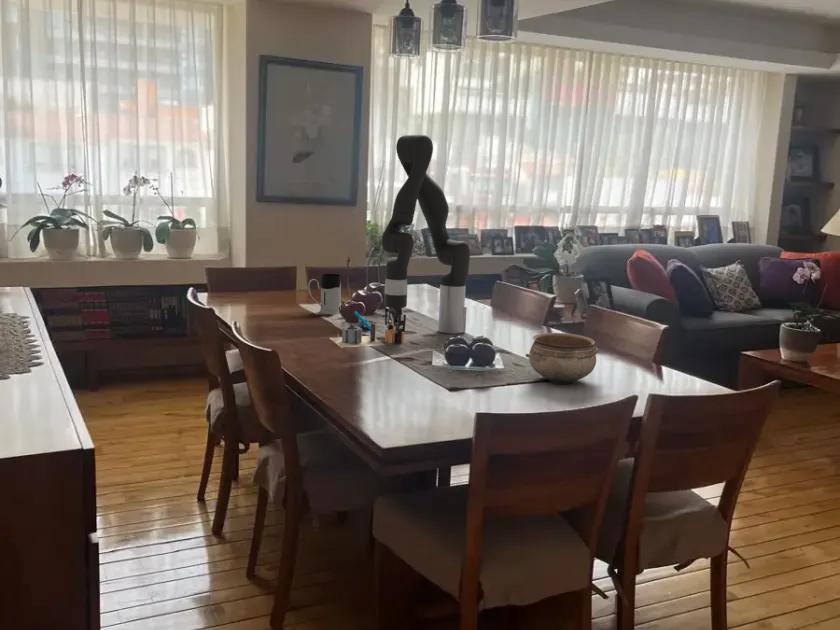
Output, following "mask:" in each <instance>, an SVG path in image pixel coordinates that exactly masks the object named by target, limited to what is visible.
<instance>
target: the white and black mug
mask: <svg viewBox="0 0 840 630" xmlns="http://www.w3.org/2000/svg"><path fill="white" fill-rule="evenodd" d="M313 281H315V282H317V283H316V284H317V288H318V290H320V302H319V301H317V300H316V299H315V298H314V297H313V295H312V292H311V286H310V285H311V282H313ZM341 287H342V283H341V274H339V273H322V274H321V286H320V282H319V281H318V280H317V279H315V278H312V279H310V280H309V282H308V287H307V290H308V293H309V295H310V297H311V298H312V300H314V301H315V302H316V303H317V304H318V305H319V306H320V309H319V313H320V314H323V315H339V314H340V313H339V306H340V307H341V301H342V300H341V298H342V297H341V293H342V290H341Z"/></svg>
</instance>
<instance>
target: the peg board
mask: <svg viewBox="0 0 840 630" xmlns="http://www.w3.org/2000/svg"><path fill="white" fill-rule="evenodd" d="M370 326H371V330H370V329H369V330H370V331H369V332H370V334H369V335H362V342H360V343H358V344H356V343H355V344H349V343H343V342H342V336H340V337H339V336H338V337H329V339H330V340H331V341H332V342H333V343H335V344H336V345H337V346H338V347H339V348H342V349H343V348H356V347H357V348H358V347H360V348H362V347H378V346H379V347H380V346H385V344H384V343H383V342H382V341H380V340H378V339H377V338H376V323H375V322H371V323H370ZM349 327H350V329H353V330H354V329H355V327H356V326H355V324H354V323H350V324H349Z"/></svg>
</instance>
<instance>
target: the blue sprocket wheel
mask: <svg viewBox="0 0 840 630" xmlns="http://www.w3.org/2000/svg"><path fill="white" fill-rule="evenodd" d="M353 313H354V316H356V317H357V318H358V320H359V323H358V325H357V326H356V327H361V328H362V327H364V326H366V328H367V329H368V330H371V324H370V323H368V320H367V319H366V318H364V317H363V316H362V315H361V314H360V313H359V312H357V310H354V312H353Z"/></svg>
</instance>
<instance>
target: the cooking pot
mask: <svg viewBox="0 0 840 630" xmlns="http://www.w3.org/2000/svg"><path fill="white" fill-rule="evenodd" d="M532 339H533V340H534V341H533V343H532V345H531V347H530V350H529V353H525V355H524V356H525V357H526V358H528V360H529V362H530V363H529V364H530V366H531V367H532V369H533V370H534V371H535V372H536V373H538V374H539V375H540V376H542V377H543V378H545V379H547V380H548V381H549V382H550V383H553V384H557V385H570V384H572V383H575V382H577V381H580V380H582V379H584V378H585V377H587V376H589V375H590V374H591V373H592V372H593V370H594V369H595V367H596V365H597V354H598V353H599V348H598V347H594V345H595V344H596V341H595V340H594V339H593V338H590V337H587V336H584V335H580V334H573V333H567V332H566V333H564V332H545V333H538V334H535V335H533V336H532Z"/></svg>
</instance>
